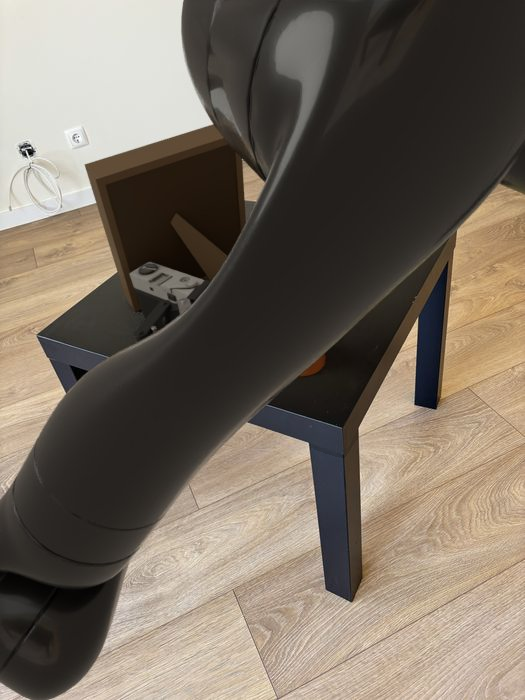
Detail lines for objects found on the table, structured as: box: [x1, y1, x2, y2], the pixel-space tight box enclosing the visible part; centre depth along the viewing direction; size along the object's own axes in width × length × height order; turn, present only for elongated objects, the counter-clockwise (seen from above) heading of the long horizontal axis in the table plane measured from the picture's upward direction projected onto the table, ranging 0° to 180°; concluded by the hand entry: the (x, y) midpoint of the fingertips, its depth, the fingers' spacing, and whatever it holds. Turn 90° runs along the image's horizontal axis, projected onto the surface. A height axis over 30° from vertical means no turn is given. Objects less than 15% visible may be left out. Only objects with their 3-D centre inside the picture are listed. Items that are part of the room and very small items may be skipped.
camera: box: [130, 262, 205, 320], centre depth 79 cm, size 14×8×10 cm, turn 50°
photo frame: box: [84, 123, 247, 313], centre depth 81 cm, size 15×22×25 cm
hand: (248, 292), depth 53 cm, fingers open, 8 cm apart
